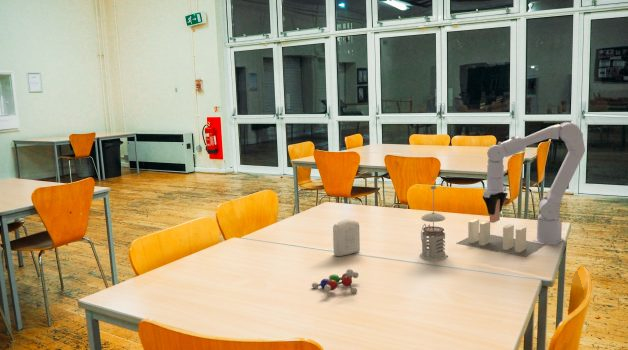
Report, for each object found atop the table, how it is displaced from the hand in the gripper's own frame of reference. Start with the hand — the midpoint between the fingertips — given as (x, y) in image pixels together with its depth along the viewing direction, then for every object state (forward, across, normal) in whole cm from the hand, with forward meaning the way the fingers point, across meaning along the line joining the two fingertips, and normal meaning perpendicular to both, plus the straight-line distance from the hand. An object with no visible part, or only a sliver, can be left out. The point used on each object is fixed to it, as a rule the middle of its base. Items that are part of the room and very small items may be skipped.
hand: (494, 212), depth 192 cm
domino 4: (+10, +9, +14) cm, 19 cm away
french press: (+10, +32, -7) cm, 34 cm away
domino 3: (+10, +9, +9) cm, 16 cm away
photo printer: (+10, +47, -33) cm, 59 cm away
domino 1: (+10, +9, -4) cm, 14 cm away
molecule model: (+11, +74, -14) cm, 76 cm away
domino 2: (+10, +9, 0) cm, 13 cm away
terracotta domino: (+3, 0, 0) cm, 3 cm away
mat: (+10, +6, +5) cm, 13 cm away
